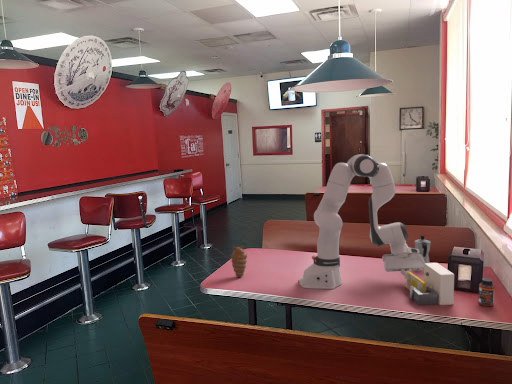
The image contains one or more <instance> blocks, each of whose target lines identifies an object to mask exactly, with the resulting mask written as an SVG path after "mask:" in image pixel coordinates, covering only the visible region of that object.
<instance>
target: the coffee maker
mask: <svg viewBox="0 0 512 384" xmlns="http://www.w3.org/2000/svg"><path fill="white" fill-rule="evenodd" d="M419 236H420V239H416V240H414V249H418V250H419V252H420V253H419V254H420V255H421V256H422V257H423V259H424V262H425V263H431V262H430V257H429V252H430V248H431V242H432V241H431V240H427V239H425V235H423V234H421V235H419Z"/></svg>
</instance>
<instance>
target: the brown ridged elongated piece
mask: <svg viewBox="0 0 512 384" xmlns="http://www.w3.org/2000/svg"><path fill="white" fill-rule="evenodd" d="M247 257H248V255H247V253H246V252H245V250H244V246H243V245H241V246H233V251H232V253H231V257H230V258H231V263H232V268H233V272H234V273H235V277H237V278H242V277H243V276H244V275H245V271H246V268H247V262H248V261H247V259H248V258H247Z"/></svg>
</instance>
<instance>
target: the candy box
mask: <svg viewBox="0 0 512 384" xmlns="http://www.w3.org/2000/svg"><path fill="white" fill-rule="evenodd" d="M406 274H407V279H406V282H405V283H406V285H405V287H406V288H407V290H409V291H410V286H413V287H415V288H416V289H418V290H419V291H420V292H421V293H426V282H424V279H423V280H422V279H421V278H420V277H419V276H417V275H416V274H414V273H413V272H412V273H411V272H410V271H406Z"/></svg>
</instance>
